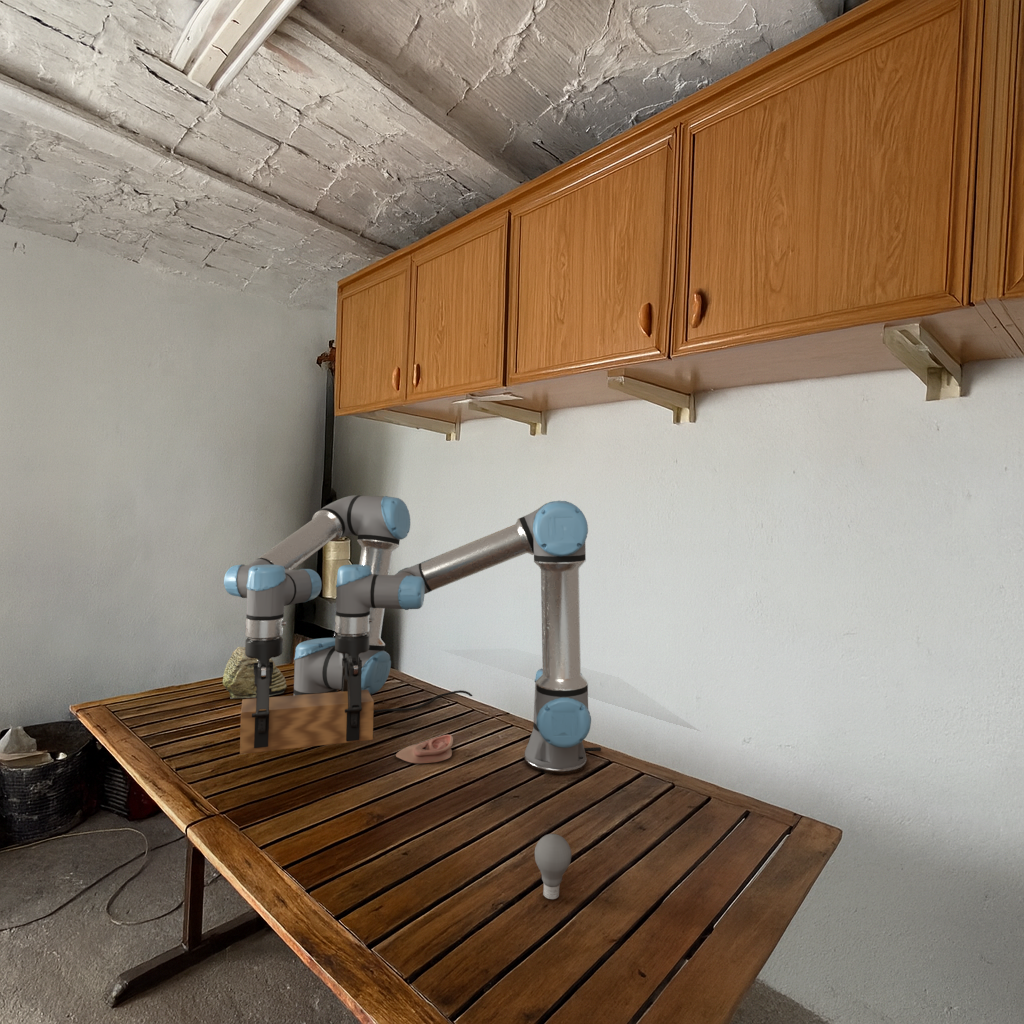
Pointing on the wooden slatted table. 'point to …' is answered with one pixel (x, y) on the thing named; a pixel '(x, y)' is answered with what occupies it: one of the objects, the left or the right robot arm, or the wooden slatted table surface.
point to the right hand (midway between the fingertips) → (349, 732)
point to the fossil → (248, 676)
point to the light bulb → (552, 862)
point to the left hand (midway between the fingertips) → (261, 734)
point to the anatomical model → (428, 750)
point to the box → (305, 721)
